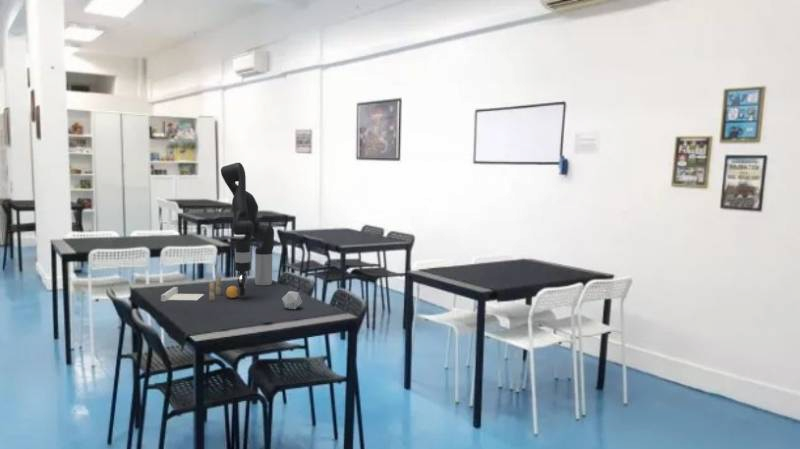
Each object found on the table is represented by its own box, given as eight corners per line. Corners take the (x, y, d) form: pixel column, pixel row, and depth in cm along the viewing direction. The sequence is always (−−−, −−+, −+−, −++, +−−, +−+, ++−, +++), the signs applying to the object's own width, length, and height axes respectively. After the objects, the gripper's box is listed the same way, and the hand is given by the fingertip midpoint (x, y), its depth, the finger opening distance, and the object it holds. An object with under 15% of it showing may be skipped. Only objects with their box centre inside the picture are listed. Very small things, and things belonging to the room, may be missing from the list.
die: (286, 312, 274) (299, 296, 274) (275, 301, 278) (288, 284, 278) (295, 315, 282) (308, 299, 281) (284, 304, 286) (297, 288, 286)
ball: (242, 291, 302) (232, 298, 302) (234, 282, 301) (224, 289, 301) (240, 294, 296) (230, 301, 296) (232, 284, 295) (222, 292, 295)
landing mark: (176, 294, 304) (176, 293, 304) (204, 294, 305) (204, 294, 305) (167, 300, 290) (167, 299, 290) (196, 300, 291) (197, 300, 291)
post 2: (216, 294, 306) (216, 276, 305) (221, 294, 306) (221, 276, 305) (215, 295, 304) (215, 277, 303) (220, 295, 304) (220, 277, 303)
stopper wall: (173, 292, 306) (173, 287, 306) (177, 292, 307) (177, 287, 306) (161, 301, 287) (161, 295, 286) (165, 301, 287) (165, 295, 286)
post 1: (209, 299, 293) (210, 281, 292) (214, 300, 293) (215, 281, 292) (208, 301, 290) (208, 282, 289) (213, 301, 290) (213, 282, 290)
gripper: (237, 258, 303) (237, 292, 304) (232, 262, 290) (232, 298, 291) (252, 259, 303) (252, 292, 305) (248, 263, 290) (247, 298, 292)
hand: (242, 295), depth 298 cm, fingers closed
